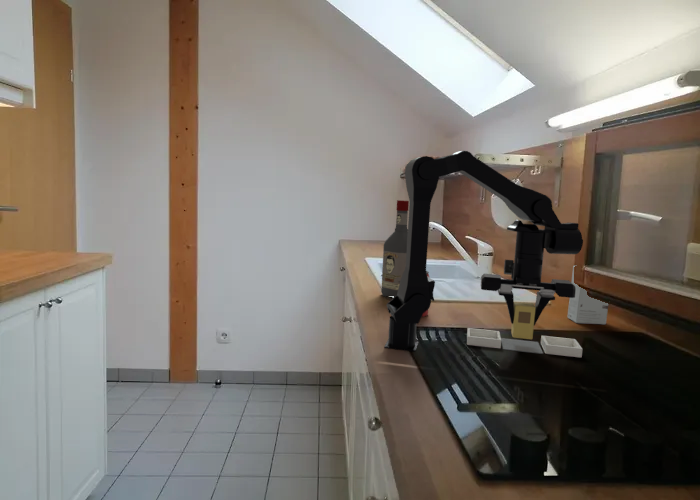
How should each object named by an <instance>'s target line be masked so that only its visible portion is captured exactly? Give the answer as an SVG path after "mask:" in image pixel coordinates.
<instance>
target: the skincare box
mask: <svg viewBox="0 0 700 500" xmlns="http://www.w3.org/2000/svg"><path fill="white" fill-rule="evenodd" d="M575 266H576V265H573V266H572V275H571V281H570V282H571V283H572V284H573V285H574V286H575V289H576V291H575V298H568V299H569V302H568V307H567V308H568V309H567V319H569V320H571V321H572V322H573V323H575V324H585V325H586V324H588V325H606V324H607V318H608V310H609V304H608V303H605V302H602V301H600V300H597V299H594V298H591V297H589V296H588V295H587V291H586V290H585V289H583V288H581V287H579V286H578V285H577V284H575V283H574V267H575Z"/></svg>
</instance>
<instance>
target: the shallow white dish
mask: <svg viewBox="0 0 700 500" xmlns="http://www.w3.org/2000/svg"><path fill="white" fill-rule="evenodd" d="M501 338H502V337H501V333H500V331H499V330H492V329H491V330H490V329H483V328H472V327H467V332H466V345H468V346H475V347H483V348H493V349H501V348H502V342H501Z"/></svg>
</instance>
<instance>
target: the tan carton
mask: <svg viewBox="0 0 700 500" xmlns="http://www.w3.org/2000/svg"><path fill="white" fill-rule="evenodd" d="M534 317H535V304H534V303H533V302H524V301H523V302H522V301H514V321H513V324H512V323H511V329H510V331H511V332H510V333H511V336H512V338H514V339H516V338H517V339H524V340H533V336H534Z"/></svg>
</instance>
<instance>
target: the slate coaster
mask: <svg viewBox="0 0 700 500" xmlns="http://www.w3.org/2000/svg"><path fill="white" fill-rule="evenodd" d="M501 347H502V350H504V351H505V350H506V351H513V352H523V353H531V354H540V355H544V351H543V350H542V349H543V348H541V347H542V346H541V344H540V343H539V341H532V340H531V341H530V340H525V339H524V340H523V339H516V338H514V339H513V338H504V337H501Z"/></svg>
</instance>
